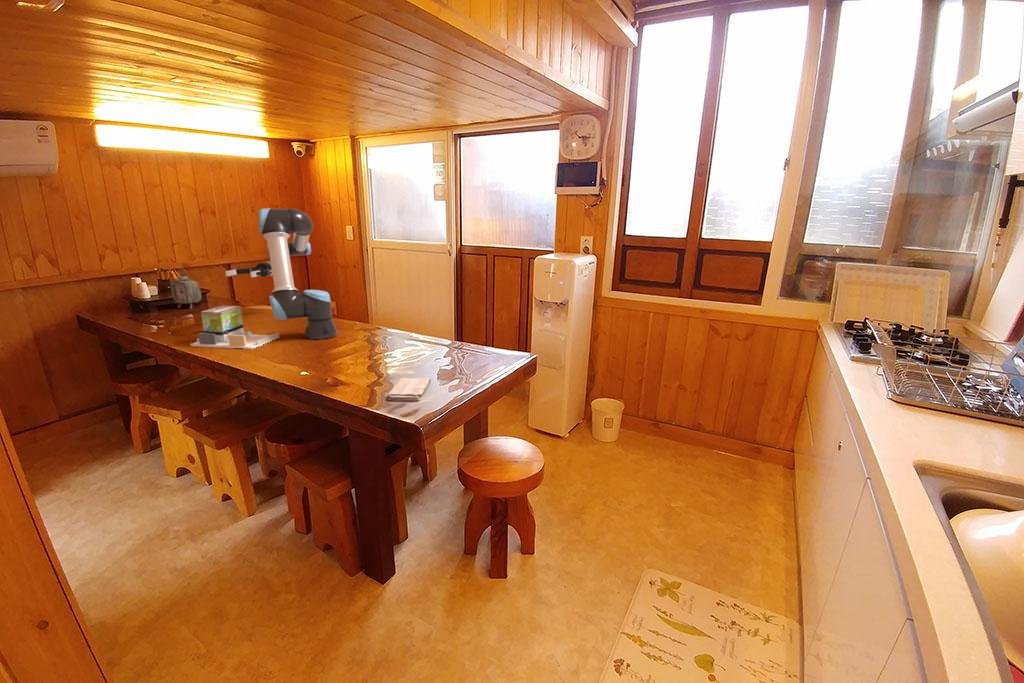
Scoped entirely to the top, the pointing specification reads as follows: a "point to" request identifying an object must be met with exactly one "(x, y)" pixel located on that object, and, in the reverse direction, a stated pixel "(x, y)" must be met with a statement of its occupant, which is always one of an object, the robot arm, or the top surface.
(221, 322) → the tea box
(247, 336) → the tag dock
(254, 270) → the robot arm
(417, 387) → the washcloth
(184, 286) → the tabletop clock
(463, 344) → the top surface
